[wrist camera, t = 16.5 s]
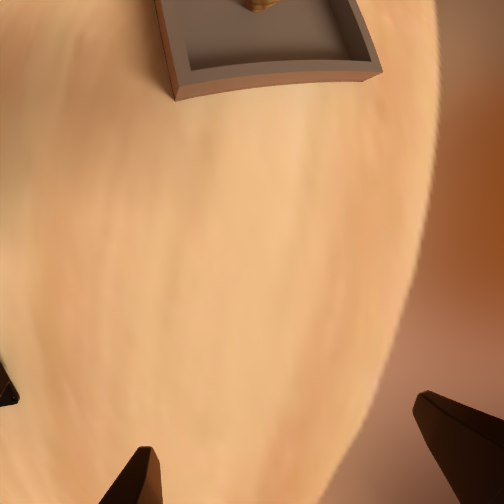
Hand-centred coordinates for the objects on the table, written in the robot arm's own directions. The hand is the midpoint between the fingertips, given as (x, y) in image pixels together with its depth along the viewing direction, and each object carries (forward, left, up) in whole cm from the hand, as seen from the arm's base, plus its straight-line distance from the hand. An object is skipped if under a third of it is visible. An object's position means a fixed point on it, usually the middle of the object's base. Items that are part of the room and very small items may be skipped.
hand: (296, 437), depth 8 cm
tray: (+8, +20, -12) cm, 25 cm away
